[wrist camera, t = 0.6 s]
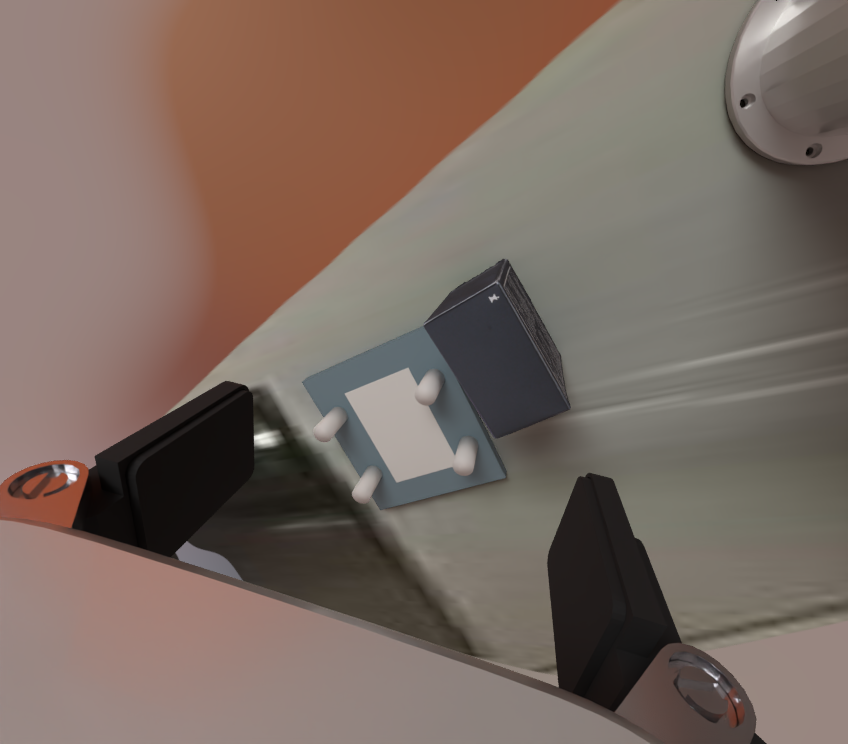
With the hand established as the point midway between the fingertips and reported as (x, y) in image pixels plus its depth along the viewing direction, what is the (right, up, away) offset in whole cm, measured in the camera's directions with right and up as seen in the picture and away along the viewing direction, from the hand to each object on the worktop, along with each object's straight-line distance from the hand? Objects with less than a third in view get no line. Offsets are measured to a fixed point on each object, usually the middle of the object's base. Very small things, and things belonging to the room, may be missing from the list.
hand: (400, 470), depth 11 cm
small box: (+8, +7, +26) cm, 28 cm away
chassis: (-1, -3, +32) cm, 32 cm away
